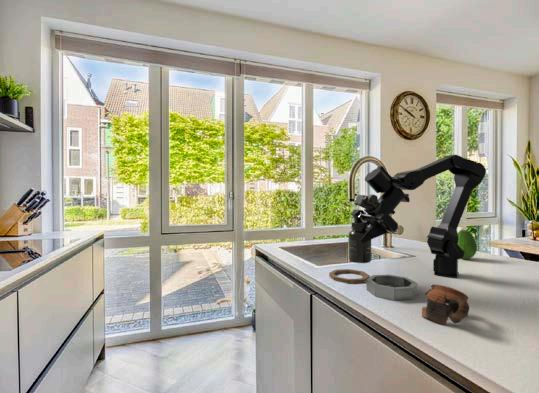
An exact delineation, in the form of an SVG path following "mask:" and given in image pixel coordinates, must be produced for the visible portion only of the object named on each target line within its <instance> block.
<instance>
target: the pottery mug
mask: <svg viewBox="0 0 539 393" xmlns="http://www.w3.org/2000/svg"><path fill="white" fill-rule="evenodd" d="M430 287H431V289H429V290H427V291H426V292H425V293H424V296H426V298H427V300H426V306H422V307H421V317H423V318H426V319H429V320H431V321H433V322H435V323H438V324H440V325H443V326H446V325H447V322H448V320H449V319H450V321H451V323H454V324H458V323H461V322H462V320H463V319H465V318H466V317H468V314H469V311H470V304H469V303H468V299H469V296H468V295H467V294H465V293H464V292H462V291H460V290H458V289H455V288H453V287H449V286H446V285H441V284H432V285H430Z"/></svg>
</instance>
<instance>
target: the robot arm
mask: <svg viewBox="0 0 539 393" xmlns="http://www.w3.org/2000/svg"><path fill="white" fill-rule="evenodd" d="M446 171H449V173H450V174H452V175H453V181H454V184H455V186H454V188H453V191H452V195H451V196H450V199H449V201H448V204H447V207H446V209H445V212H444V213H443V216H442V219H441V222H440V223H439V224H438V226H431V227H430V230H429V233H428V235H427V236H426V238H427V241H426V242H427V246H428V247H429V250H430V253H431V255H434V256H435V258H434V259H432V260H433V264H432V265H433V268H432V269H433V270H432V271H433V275H435V276H442V277H448V278H456V279H457V278H458V276H459V275H460V274H459V273H460V272H459V260H461V259H462V258H463V256H464V251H463V250H462V249H461V248H460V247H459V246H458V239H459V237H458V228H459V226H460V221H461V219H462V217H463V214H464V213H465V209H466V207H467V204H468V202H469V200H470V197H471V194H472V191H473V190H474V189H475V188H477V187H478V186H479V185H481V183H482V181H483V180H484V178H485V177H486V174H487V169H486V168H485V166H484V164H482V163H481V162H476V161H475V160H471V159H470V158H469V159H468V158H465V157H463V156H461V155H458V154H450V155H445V156H443V157H442V158H440V159H438V160H435V161H432V162H430V163H428V164H426V165H423V166H421V167H418V168H416V169H412V170H406V171H401V172H397V173H396V174H394V176H391V174H389V173H388V171H387V170H386V168H385V167H384V166H382V165H379V166H377V167H376V168H375V169H373V170H371V171H370V172H368V173H367V174H366V176H365V178H364V181H365V182H366V183H367V184H368V186H369V187H370V188H371V189H373V191H374V192H375V193H377V194H379V193H380V194H381V195H380V197H378V195H375V194H369V195H365V194H357V196H356V199H355V202H354V203H353V204H354V205H355V206H358V207H360V208H363V209H353V210H352V212H351V213H350V215H351V216H352V217H353V220H354V221H353V222H366V223H368V229H367V231H366V232H365V234H364V235H363V237H362V238H361V240H360V241H361V242H362V243H365V242H367V241H369V240H371V241H372V240H373V239H376V238H378V237H381V236H384V235H385V234H389V233H393V234H395V233H396V231H397V230H399V223H398V222H397V221H396V220H395V219H394V218H393V217H392V216H391V215H395V213H396V211H395V210H396V208H397V207H398V206H399V205H400V204H401V203H410V197H409V196H410V194H409V193H406V192H404V191H414V190H416V189H418V188H420V187H421V186H422V185H423V184H424V183H425V181H427V180H428V179H431V178H433V177H435V176H437V175H440V174H442V173H444V172H446ZM462 260H463V259H462Z"/></svg>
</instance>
